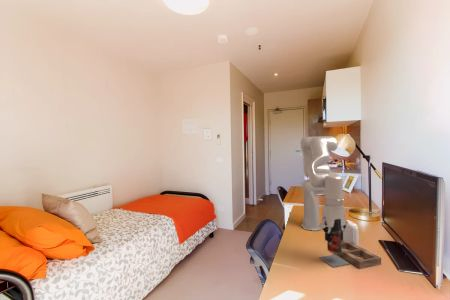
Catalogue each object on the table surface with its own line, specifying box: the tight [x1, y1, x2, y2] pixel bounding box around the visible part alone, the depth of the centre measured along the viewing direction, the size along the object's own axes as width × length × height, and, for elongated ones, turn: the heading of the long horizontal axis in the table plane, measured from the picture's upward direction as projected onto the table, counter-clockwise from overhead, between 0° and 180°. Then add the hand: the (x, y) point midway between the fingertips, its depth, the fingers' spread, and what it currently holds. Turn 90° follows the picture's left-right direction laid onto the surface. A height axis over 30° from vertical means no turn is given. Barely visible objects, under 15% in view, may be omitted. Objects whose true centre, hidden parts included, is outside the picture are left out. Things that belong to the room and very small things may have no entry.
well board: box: [333, 241, 382, 269], centre depth 107 cm, size 18×12×3 cm, turn 15°
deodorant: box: [326, 219, 342, 254], centre depth 103 cm, size 6×6×15 cm
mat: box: [319, 253, 351, 269], centre depth 104 cm, size 9×9×1 cm
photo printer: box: [341, 219, 360, 247], centre depth 122 cm, size 10×4×12 cm, turn 14°
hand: (334, 239), depth 103 cm, fingers closed on deodorant, 6 cm apart
